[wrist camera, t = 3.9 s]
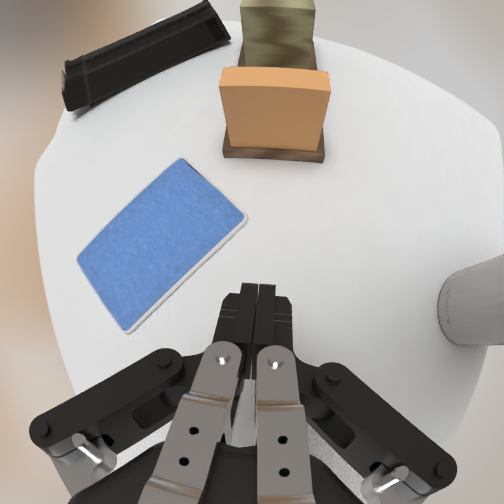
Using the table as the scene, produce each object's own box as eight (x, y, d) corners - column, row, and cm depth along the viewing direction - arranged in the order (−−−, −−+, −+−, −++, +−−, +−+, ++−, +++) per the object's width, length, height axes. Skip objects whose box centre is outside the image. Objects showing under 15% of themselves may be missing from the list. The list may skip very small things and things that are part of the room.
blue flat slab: (184, 157, 34) (181, 152, 33) (252, 220, 32) (252, 216, 30) (78, 260, 32) (72, 258, 30) (130, 338, 29) (124, 338, 28)
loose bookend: (315, 132, 32) (327, 71, 22) (316, 151, 31) (330, 91, 21) (233, 127, 33) (223, 67, 23) (231, 146, 32) (218, 86, 22)
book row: (312, 47, 39) (319, -15, 26) (322, 162, 32) (346, 81, 19) (244, 44, 40) (238, -18, 27) (224, 157, 33) (203, 75, 20)
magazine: (232, -4, 32) (49, 30, 22) (241, 1, 31) (48, 37, 21) (217, 69, 48) (68, 109, 37) (224, 77, 47) (69, 119, 36)
